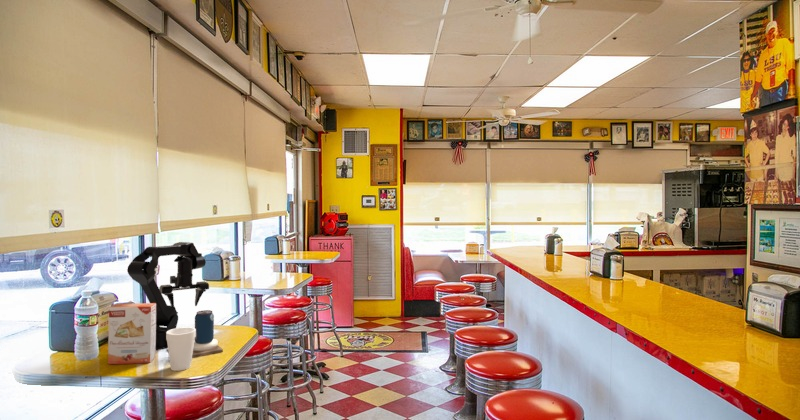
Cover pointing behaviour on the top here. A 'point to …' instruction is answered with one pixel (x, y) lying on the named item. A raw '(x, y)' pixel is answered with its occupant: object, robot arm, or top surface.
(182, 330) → the foam cup
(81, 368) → the top surface
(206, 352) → the plinth board
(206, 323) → the soda can
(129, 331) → the cracker box
